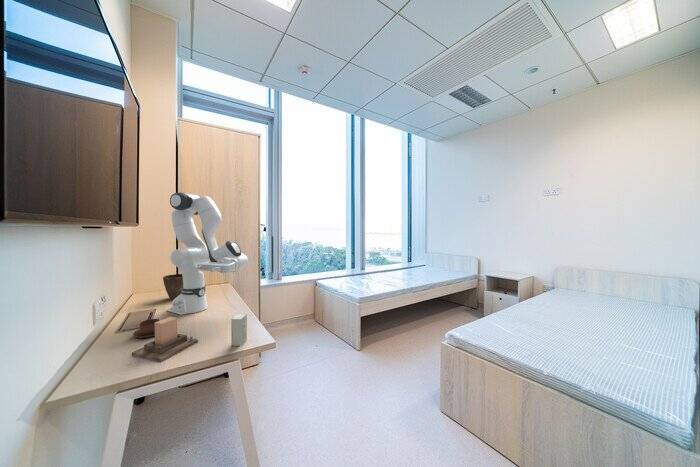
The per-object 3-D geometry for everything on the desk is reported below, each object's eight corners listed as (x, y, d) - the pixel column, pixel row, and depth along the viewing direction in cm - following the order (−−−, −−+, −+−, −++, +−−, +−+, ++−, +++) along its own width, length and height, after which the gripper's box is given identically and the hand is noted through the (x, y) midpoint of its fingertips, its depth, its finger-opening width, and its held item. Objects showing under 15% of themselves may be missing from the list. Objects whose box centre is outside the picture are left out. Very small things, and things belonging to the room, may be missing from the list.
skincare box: (238, 339, 112) (237, 313, 111) (247, 339, 112) (247, 313, 111) (230, 346, 106) (230, 318, 105) (240, 346, 105) (240, 318, 105)
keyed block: (155, 348, 101) (154, 322, 100) (170, 341, 107) (170, 316, 106) (162, 350, 99) (161, 323, 99) (177, 342, 106) (177, 317, 105)
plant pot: (163, 297, 173) (162, 275, 173) (188, 293, 182) (188, 272, 182) (162, 302, 161) (162, 279, 161) (189, 298, 170) (189, 276, 170)
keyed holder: (131, 355, 98) (131, 346, 97) (170, 337, 113) (170, 329, 113) (161, 361, 93) (161, 352, 93) (197, 342, 109) (197, 334, 109)
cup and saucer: (139, 331, 120) (139, 318, 119) (169, 327, 124) (168, 315, 124) (128, 342, 109) (127, 328, 108) (160, 337, 113) (160, 324, 113)
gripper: (209, 258, 139) (187, 262, 125) (239, 260, 133) (220, 264, 120) (210, 269, 139) (188, 274, 126) (239, 271, 134) (220, 277, 120)
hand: (204, 269), depth 123 cm, fingers open, 8 cm apart
